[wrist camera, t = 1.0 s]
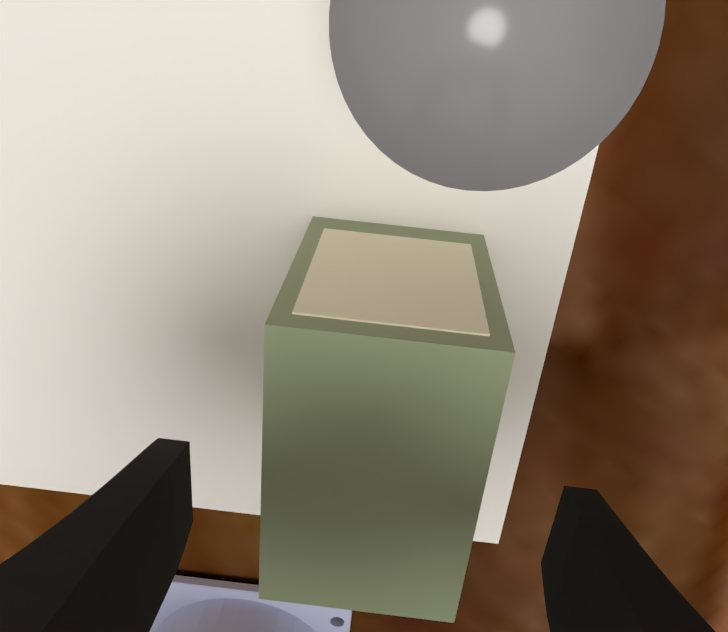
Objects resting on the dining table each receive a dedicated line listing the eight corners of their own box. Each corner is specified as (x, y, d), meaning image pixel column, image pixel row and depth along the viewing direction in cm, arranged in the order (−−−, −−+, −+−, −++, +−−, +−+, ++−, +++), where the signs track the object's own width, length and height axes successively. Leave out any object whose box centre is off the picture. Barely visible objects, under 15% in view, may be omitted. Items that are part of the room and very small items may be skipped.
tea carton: (443, 451, 20) (454, 622, 14) (300, 434, 20) (258, 598, 15) (484, 233, 17) (515, 350, 11) (313, 214, 17) (265, 322, 11)
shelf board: (495, 525, 22) (505, 594, 20) (-142, 449, 23) (-211, 507, 20) (648, -98, 14) (699, -116, 11) (-357, -195, 14) (-520, -233, 12)
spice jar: (556, 141, 15) (614, 206, 11) (347, 119, 16) (319, 174, 11) (611, -108, 13) (714, -157, 9) (366, -131, 13) (340, -192, 9)
